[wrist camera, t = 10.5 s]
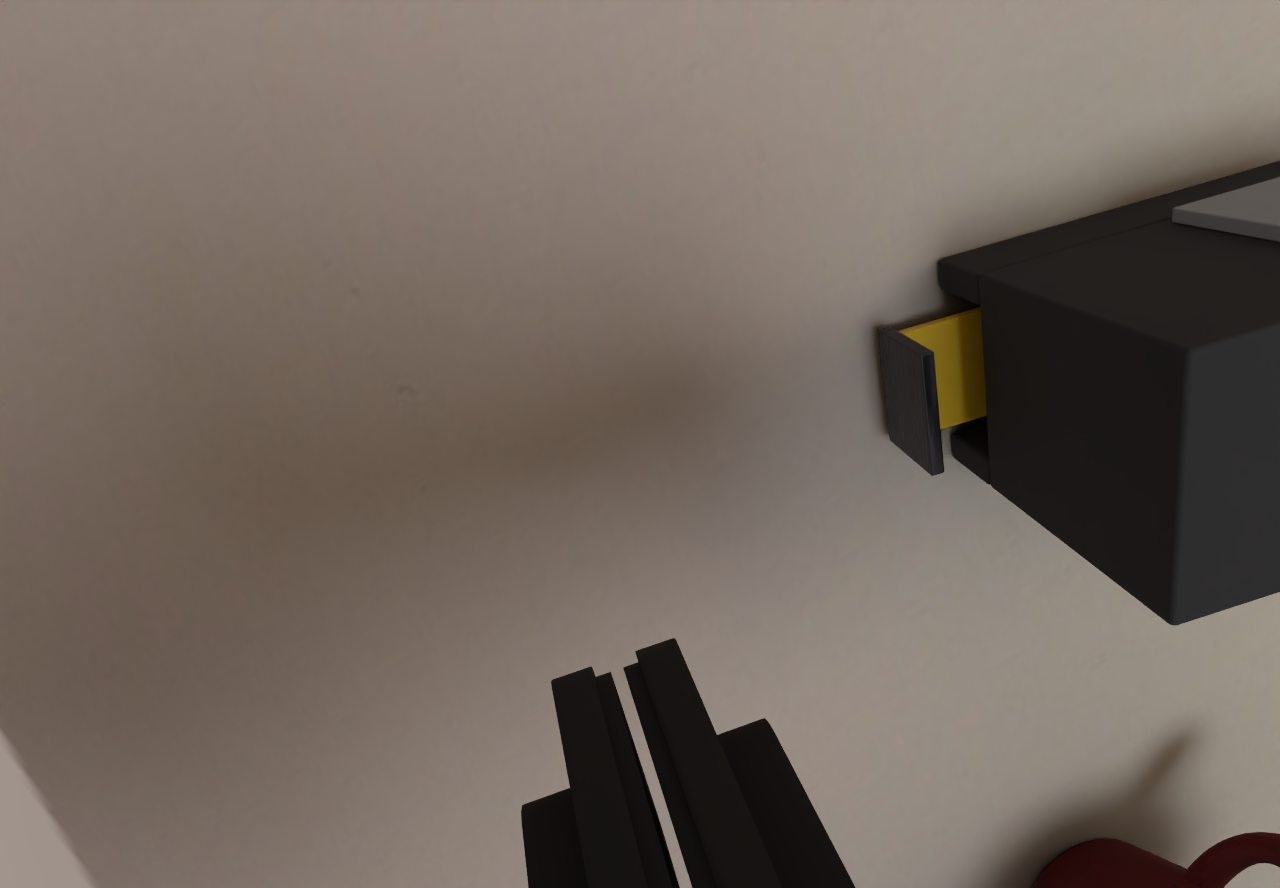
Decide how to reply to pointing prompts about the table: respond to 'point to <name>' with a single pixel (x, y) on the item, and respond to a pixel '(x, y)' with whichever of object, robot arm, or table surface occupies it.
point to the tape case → (1141, 389)
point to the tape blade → (932, 382)
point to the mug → (1157, 864)
